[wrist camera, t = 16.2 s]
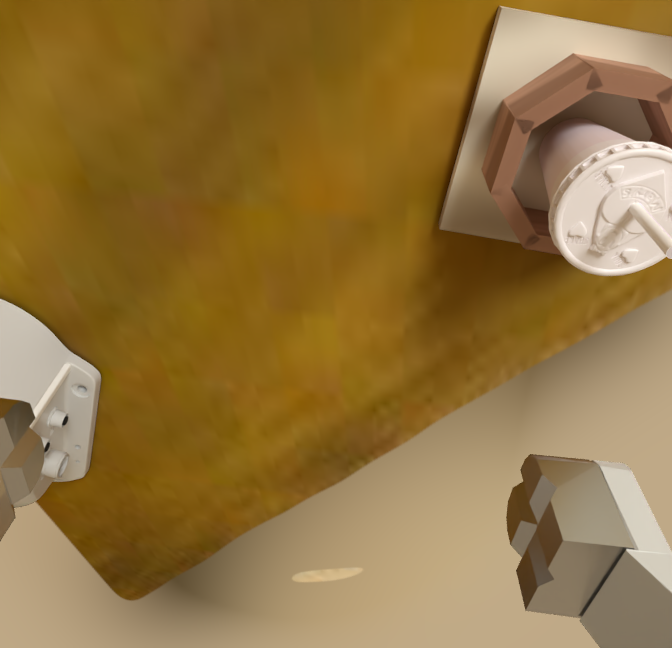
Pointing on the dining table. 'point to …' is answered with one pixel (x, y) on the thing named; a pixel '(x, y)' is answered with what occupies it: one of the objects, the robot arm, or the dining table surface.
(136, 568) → the dining table surface
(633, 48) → the bottle stand
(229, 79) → the dining table surface
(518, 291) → the dining table surface
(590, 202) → the smoothie
